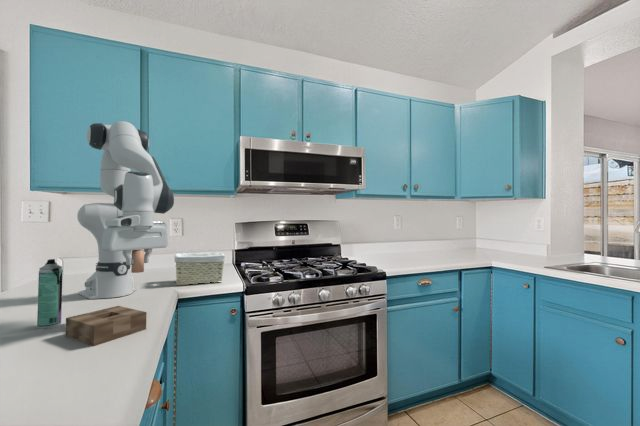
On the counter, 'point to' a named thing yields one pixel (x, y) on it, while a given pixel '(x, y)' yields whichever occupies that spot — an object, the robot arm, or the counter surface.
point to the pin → (137, 261)
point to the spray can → (49, 295)
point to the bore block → (105, 324)
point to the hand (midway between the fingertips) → (137, 263)
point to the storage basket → (199, 267)
